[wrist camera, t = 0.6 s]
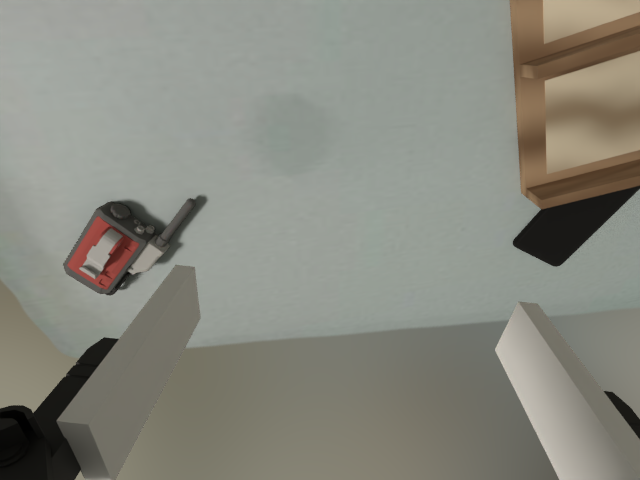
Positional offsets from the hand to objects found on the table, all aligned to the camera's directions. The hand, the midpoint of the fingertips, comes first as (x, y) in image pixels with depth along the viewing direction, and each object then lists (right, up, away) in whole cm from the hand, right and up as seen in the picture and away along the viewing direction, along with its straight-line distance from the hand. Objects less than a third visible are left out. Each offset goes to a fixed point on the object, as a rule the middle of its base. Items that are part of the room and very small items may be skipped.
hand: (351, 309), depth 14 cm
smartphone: (+27, +7, +23) cm, 37 cm away
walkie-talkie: (-25, +4, +29) cm, 38 cm away
